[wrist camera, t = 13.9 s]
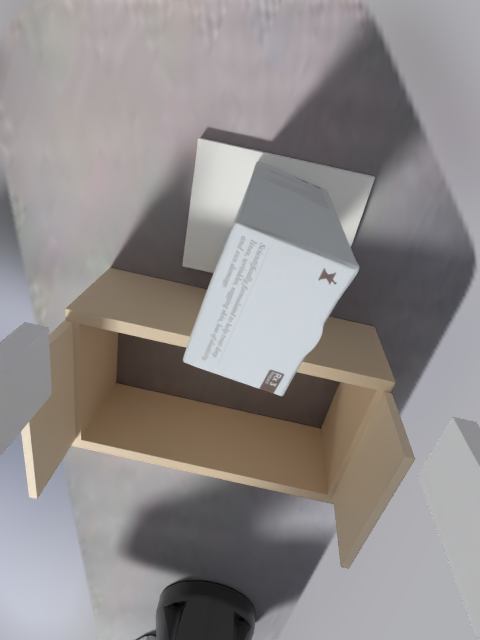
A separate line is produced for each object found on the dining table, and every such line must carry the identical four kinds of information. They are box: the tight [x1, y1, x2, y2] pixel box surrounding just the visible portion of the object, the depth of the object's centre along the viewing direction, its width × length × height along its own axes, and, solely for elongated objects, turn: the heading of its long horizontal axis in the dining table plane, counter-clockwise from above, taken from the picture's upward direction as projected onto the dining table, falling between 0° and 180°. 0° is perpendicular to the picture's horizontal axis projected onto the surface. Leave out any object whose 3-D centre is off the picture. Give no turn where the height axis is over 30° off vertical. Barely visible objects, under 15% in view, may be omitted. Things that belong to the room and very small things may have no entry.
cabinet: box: [21, 268, 415, 569], centre depth 32 cm, size 14×24×14 cm, turn 79°
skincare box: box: [183, 161, 359, 396], centre depth 24 cm, size 8×6×15 cm
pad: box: [182, 138, 375, 273], centre depth 31 cm, size 10×13×1 cm
